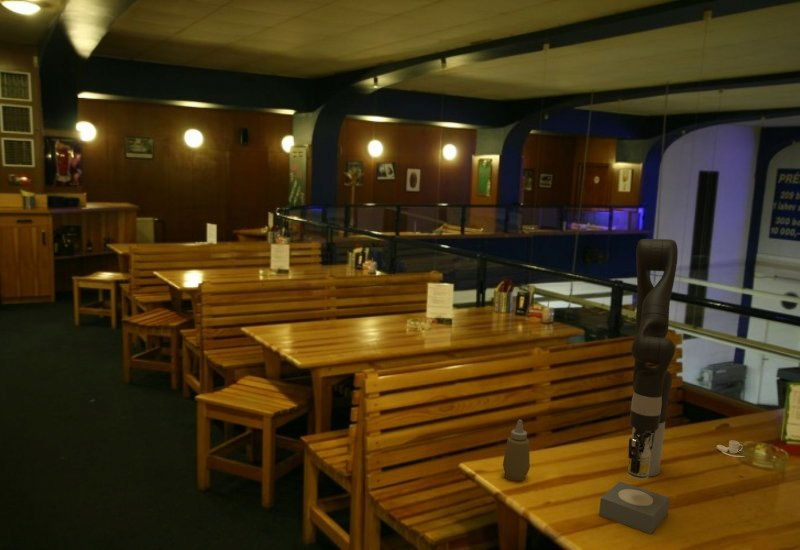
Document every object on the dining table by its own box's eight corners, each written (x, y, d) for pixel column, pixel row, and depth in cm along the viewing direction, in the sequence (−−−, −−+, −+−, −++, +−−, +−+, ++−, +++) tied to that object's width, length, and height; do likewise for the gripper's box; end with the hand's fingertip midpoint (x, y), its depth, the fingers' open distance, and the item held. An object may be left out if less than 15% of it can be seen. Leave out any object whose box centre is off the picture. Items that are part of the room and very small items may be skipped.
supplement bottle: (631, 469, 190) (635, 436, 189) (651, 476, 187) (655, 442, 185) (623, 475, 186) (628, 441, 184) (643, 482, 183) (648, 447, 181)
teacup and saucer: (713, 451, 236) (715, 440, 236) (723, 446, 242) (725, 435, 241) (739, 460, 230) (741, 448, 229) (749, 454, 235) (751, 443, 235)
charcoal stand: (618, 497, 198) (620, 480, 197) (667, 514, 189) (669, 496, 188) (598, 515, 187) (600, 497, 186) (650, 534, 178) (652, 515, 178)
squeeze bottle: (496, 472, 209) (501, 416, 206) (520, 470, 212) (524, 414, 209) (510, 484, 202) (515, 426, 199) (533, 481, 205) (539, 424, 202)
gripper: (650, 420, 175) (643, 482, 178) (668, 406, 187) (661, 465, 189) (622, 412, 180) (615, 473, 183) (641, 399, 191) (634, 457, 194)
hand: (638, 469), depth 186 cm, fingers closed on supplement bottle, 5 cm apart
